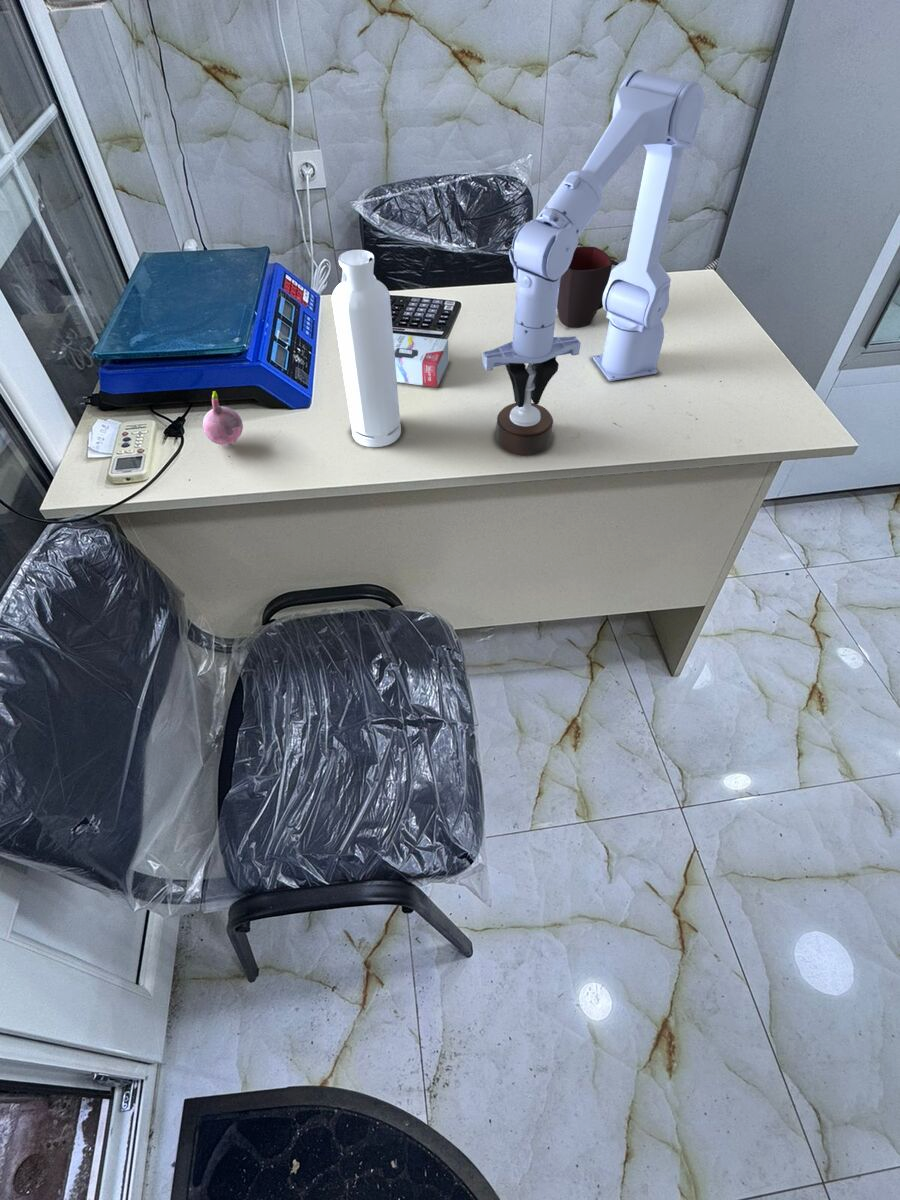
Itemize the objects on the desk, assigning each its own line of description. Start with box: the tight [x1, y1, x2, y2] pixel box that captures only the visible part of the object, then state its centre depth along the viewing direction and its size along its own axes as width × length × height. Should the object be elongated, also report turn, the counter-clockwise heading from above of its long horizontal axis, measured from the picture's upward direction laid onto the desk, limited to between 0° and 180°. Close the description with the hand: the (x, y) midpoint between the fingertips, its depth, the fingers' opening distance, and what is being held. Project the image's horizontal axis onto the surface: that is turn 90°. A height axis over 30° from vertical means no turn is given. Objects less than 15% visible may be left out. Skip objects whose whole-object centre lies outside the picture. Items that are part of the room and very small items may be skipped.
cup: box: [556, 246, 619, 329], centre depth 124 cm, size 10×14×12 cm
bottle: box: [331, 249, 402, 448], centre depth 96 cm, size 8×8×28 cm
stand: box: [495, 402, 554, 456], centre depth 104 cm, size 9×9×4 cm
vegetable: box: [202, 390, 244, 446], centre depth 101 cm, size 6×6×10 cm
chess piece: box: [510, 363, 541, 427], centre depth 99 cm, size 5×5×10 cm
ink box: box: [393, 332, 449, 388], centre depth 116 cm, size 9×5×12 cm
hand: (526, 402), depth 100 cm, fingers closed on chess piece, 2 cm apart
